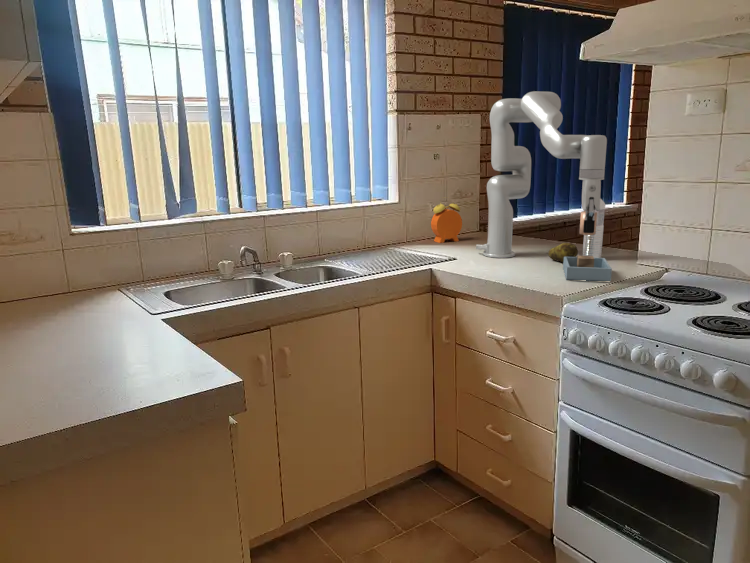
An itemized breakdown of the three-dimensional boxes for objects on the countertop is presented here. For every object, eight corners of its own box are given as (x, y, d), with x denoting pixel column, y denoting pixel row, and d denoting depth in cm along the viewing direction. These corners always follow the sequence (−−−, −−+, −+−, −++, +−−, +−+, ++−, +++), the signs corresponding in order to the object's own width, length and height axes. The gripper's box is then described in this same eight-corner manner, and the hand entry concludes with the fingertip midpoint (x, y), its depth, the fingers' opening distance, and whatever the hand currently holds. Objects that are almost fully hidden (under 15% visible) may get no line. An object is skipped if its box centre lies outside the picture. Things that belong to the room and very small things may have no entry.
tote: (566, 280, 189) (567, 267, 188) (562, 268, 205) (563, 256, 204) (610, 282, 185) (611, 268, 184) (603, 270, 202) (604, 258, 201)
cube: (577, 272, 197) (578, 258, 196) (576, 269, 202) (577, 255, 201) (593, 273, 196) (594, 258, 195) (591, 270, 201) (592, 256, 199)
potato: (567, 259, 222) (569, 238, 220) (579, 266, 210) (581, 244, 208) (546, 259, 222) (547, 238, 220) (557, 266, 209) (558, 244, 208)
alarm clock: (455, 239, 269) (456, 196, 265) (462, 241, 264) (463, 197, 259) (430, 241, 264) (430, 197, 260) (436, 243, 259) (437, 198, 254)
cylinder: (579, 234, 186) (581, 213, 185) (578, 232, 191) (580, 211, 189) (596, 235, 185) (598, 213, 183) (594, 232, 190) (596, 211, 188)
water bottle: (603, 260, 219) (609, 194, 213) (585, 260, 219) (590, 194, 213) (597, 256, 226) (602, 192, 220) (579, 256, 226) (584, 192, 220)
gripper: (607, 176, 175) (602, 235, 179) (601, 173, 191) (597, 228, 195) (581, 176, 177) (577, 235, 181) (577, 173, 193) (573, 227, 197)
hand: (587, 230), depth 188 cm, fingers closed on cylinder, 5 cm apart
